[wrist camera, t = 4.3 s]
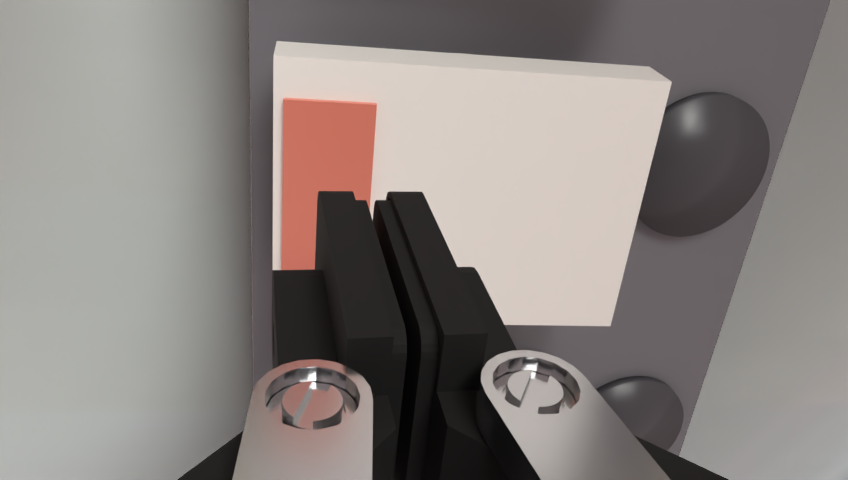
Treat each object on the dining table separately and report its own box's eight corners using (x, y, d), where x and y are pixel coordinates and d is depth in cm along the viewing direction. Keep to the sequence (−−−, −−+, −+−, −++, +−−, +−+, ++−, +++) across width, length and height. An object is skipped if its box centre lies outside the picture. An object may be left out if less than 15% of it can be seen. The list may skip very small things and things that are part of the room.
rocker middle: (634, 56, 17) (674, 83, 15) (583, 281, 20) (612, 329, 18) (278, 31, 16) (272, 57, 14) (277, 274, 19) (272, 325, 17)
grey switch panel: (923, -702, 16) (1132, -866, 12) (588, 520, 32) (633, 609, 28) (238, -933, 12) (237, -1257, 9) (254, 556, 29) (256, 662, 25)
